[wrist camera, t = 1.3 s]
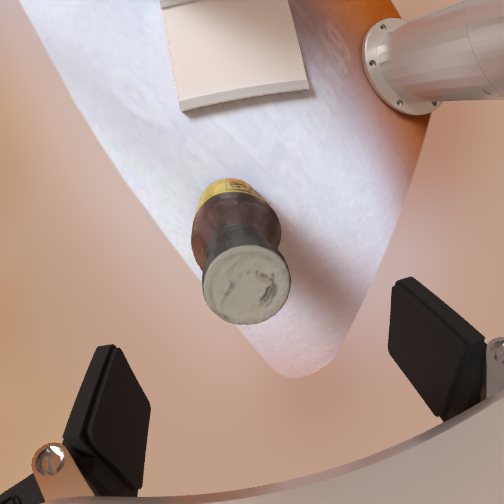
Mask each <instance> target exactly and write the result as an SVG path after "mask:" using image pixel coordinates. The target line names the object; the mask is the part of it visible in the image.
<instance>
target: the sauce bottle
mask: <svg viewBox="0 0 504 504" xmlns="http://www.w3.org/2000/svg"><path fill="white" fill-rule="evenodd" d="M280 239H281V227H280V223H279V220H278V217H277V215H276V214H275V212H274V211H273V209H272V208H271V207H270V206H269V205H268V204H267V203H266V202H265V200H264V199H263V198H262V197H261V196H260V195H259V194H258V193H257V192H256V191H255V190H254V189H253V188H252V187H251V186H250V185H249V184H247V183H246V182H244V181H241V180H238V179H222V180H219V181H217V182H215V183H213V184H212V185H210V186H209V187H208V188H207V189H206V190H205V191H204V192H203V194H202V196H201V198H200V201H199V204H198V207H197V211H196V214H195V218H194V221H193V227H192V235H191V246H192V251H193V254H194V257H195V259H196V262H197V264H198V265H199V266H200V268H201V270H202V271H203V275H202V287H203V294H204V297H205V300H206V302H207V304H208V306H209V307H210V309H211V310H212V311H213V312H215V313H216V314H217V315H218V316H219V317H220V318H222V319H223V320H225V321H227V322H230V323H233V324H238V325H241V324H247V325H249V324H257V323H260V322H263V321H265V320H267V319H269V318H270V317H272V316H274V315H275V314H276V313H277V312H278V311H279V310H280V309H281V308H282V307H283V305H284V304H285V303H286V300H287V298H288V294H289V291H290V286H291V276H290V273H289V269H288V266H287V264H286V261H285V259H284V257H283V256H282V254H281V253H280V251H279V250H278V249H277V248H278V245H279V243H280Z"/></svg>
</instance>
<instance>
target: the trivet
mask: <svg viewBox="0 0 504 504" xmlns="http://www.w3.org/2000/svg"><path fill="white" fill-rule="evenodd" d="M160 5H161V10H162V16H163V22H164V27H165V33H166V38H167V44H168V49H169V54H170V59H171V65H172V70H173V75H174V80H175V85H176V90H177V95H178V99H179V105H180V110H181V112H184V111H188V110H192V109H196V108H200V107H205V106H210V105H214V104H219V103H224V102H229V101H234V100H240V99H245V98H251V97H257V96H264V95H270V94H278V93H285V92H293V91H302V90H308V89H310V87H309V82H308V79H307V77H306V73H305V68H304V64H303V59H302V55H301V51H300V46H299V42H298V38H297V34H296V30H295V26H294V22H293V18H292V15H291V11H290V7H289V3H288V0H160Z"/></svg>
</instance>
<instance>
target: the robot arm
mask: <svg viewBox="0 0 504 504" xmlns="http://www.w3.org/2000/svg"><path fill="white" fill-rule="evenodd" d="M362 62H363V67H364V70H365V73H366V76H367V78H368V80H369V82H370V84H371V86H372V88H373V89H374V90H375V92H376V93H377V95H378V96H379V97H380V98H381V99H382V100H383V101H384V102H385V103H386V104H388V105H389V106H390V107H392V108H393V109H395V110H397V111H399V112H401V113H404V114H407V115H424V114H428V113H430V112H432V111H434V110H435V109H436V108H437V107H438V106H439V105H440V104H441V102H442V101H453V100H454V101H455V100H504V0H465V1H462V2H459V3H456V4H453V5H451V6H448V7H445V8H443V9H440V10H437V11H435V12H433V13H430V14H428V15H425V16H422V17H420V18H418V19H415V20H413V21H411V22H409V21H407V20H403V19H399V18H389V19H384V20H382V21H380V22H378V23H376V24H375V25H373V26H372V27H371V28H370V29H369V30H368V32H367V33H366V35H365V37H364V40H363V44H362ZM369 63H370V64H369ZM370 65H371V66H370ZM484 339H485V337H484V336H483V335H482V334H481V333H479V332H478V331H477V330H476V329H475V328H474V327H473V326H472V325H470V324H469V323H468V322H467V321H466V320H464V319H463V318H462V317H461V316H460V315H459V314H458V313H456V312H455V311H454V310H453V309H452V308H450V307H449V306H448V305H447V304H445V303H444V302H443V301H442V300H441V299H440V298H438V297H437V296H436V295H434V294H433V293H432V292H431V291H430V290H428V289H427V288H426V287H425V286H423V285H422V284H421V283H420V282H418V281H417V280H416V279H414V278H413V277H408V278H404V279H401V280H398V281H397V282H396V283H395V286H393V287H392V294H391V312H390V327H389V339H388V351H389V353H390V355H391V357H392V358H393V359H394V361H395V362H396V363H397V365H398V366H399V367H400V369H401V370H402V371H403V373H404V374H405V375H406V377H407V378H408V379H409V381H410V382H411V383H412V385H413V386H414V388H415V389H416V390H417V392H418V393H419V394H420V396H421V397H422V399H423V400H424V401H425V403H426V404H427V405H428V407H429V408H430V409H431V411H432V412H433V414H434V415H435V416H436V417H439V416H440V418H441V419H442V420H443V422H444V423H442V424H440V425H438V426H436V427H434V428H432V429H430V430H428V431H426V432H424V433H422V434H420V435H418V436H415V437H413V438H411V439H409V440H407V441H405V442H402V443H400V444H398V445H395V446H393V447H390V448H388V449H385V450H383V451H380V452H378V453H375V454H373V455H370V456H368V457H365V458H362V459H359V460H357V461H354V462H351V463H348V464H344V465H341V466H338V467H335V468H332V469H329V470H325V471H322V472H318V473H315V474H311V475H307V476H304V477H300V478H296V479H292V480H287V481H283V482H278V483H273V484H269V485H263V486H258V487H253V488H247V489H241V490H234V491H226V492H219V493H210V494H199V495H186V496H167V497H137V494H138V489H141V488H142V483H143V473H144V472H143V471H144V462H145V451H146V444H147V435H148V427H149V420H150V412H151V407H150V403H149V401H148V399H147V397H146V396H145V394H144V392H143V390H142V388H141V386H140V385H139V383H138V381H137V379H136V377H135V375H134V373H133V372H132V370H131V368H130V366H129V364H128V362H127V360H126V358H125V356H124V354H123V352H122V350H121V349H120V348H116V346H115V345H113V344H112V345H105V346H99V347H97V349H96V351H95V353H94V355H93V358H92V360H91V363H90V365H89V367H88V370H87V372H86V375H85V377H84V380H83V382H82V385H81V387H80V390H79V392H78V395H77V398H76V401H75V403H74V406H73V408H72V411H71V414H70V417H69V419H68V422H67V425H66V428H65V431H64V434H63V438H64V440H63V443H62V444H60V443H55V442H54V443H48V444H46V445H44V446H42V447H41V448H40V449H38V451H37V452H36V453H35V454H34V457H33V459H32V470H33V474H31V475H30V476H28V477H27V478H25V479H24V480H22V481H21V482H19V483H18V484H16V485H14V486H13V487H11V488H10V489H8V490H7V491H5V492H4V493H2V494H1V495H0V504H504V337H498V338H495V339H493V340H491V341H490V342H489V343H488V345H487V344H486V343H485V342H484Z"/></svg>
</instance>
